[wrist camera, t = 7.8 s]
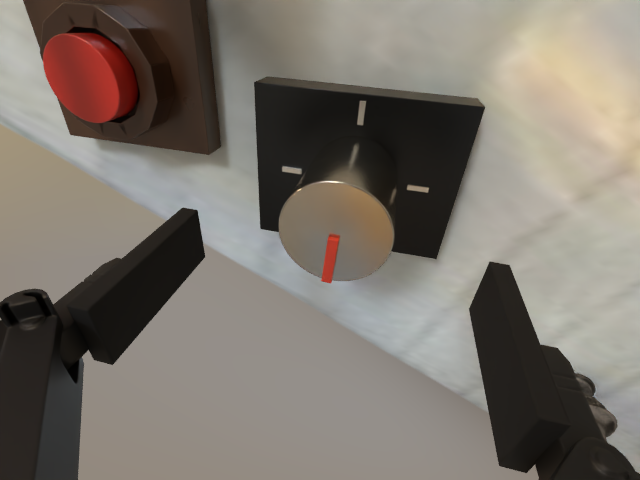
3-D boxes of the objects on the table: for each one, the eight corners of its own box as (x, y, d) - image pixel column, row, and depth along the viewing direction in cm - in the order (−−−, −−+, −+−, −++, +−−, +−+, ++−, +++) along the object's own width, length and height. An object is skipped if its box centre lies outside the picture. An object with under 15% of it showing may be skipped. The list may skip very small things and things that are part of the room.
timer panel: (478, 98, 21) (485, 107, 19) (434, 241, 28) (436, 260, 25) (267, 76, 23) (253, 82, 21) (270, 214, 30) (259, 230, 27)
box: (205, -8, 21) (169, -13, 18) (221, 146, 27) (195, 164, 24) (42, -20, 23) (-18, -26, 20) (89, 128, 29) (48, 142, 25)
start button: (127, 35, 20) (105, 37, 19) (146, 120, 23) (128, 127, 22) (55, 29, 21) (28, 30, 20) (82, 112, 24) (60, 118, 22)
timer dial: (315, 127, 22) (278, 172, 16) (407, 144, 21) (408, 197, 15) (307, 207, 25) (274, 271, 19) (386, 224, 25) (379, 295, 18)
